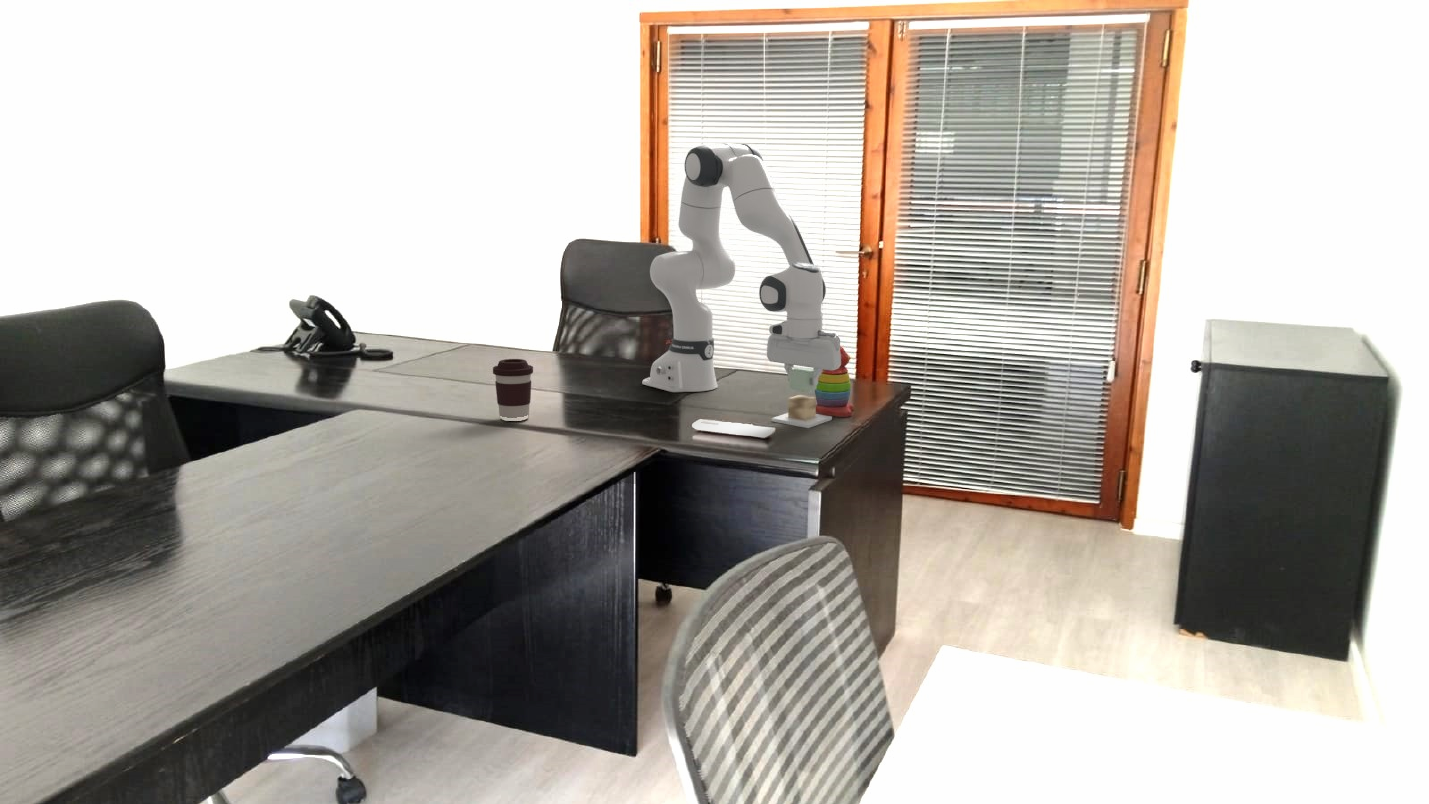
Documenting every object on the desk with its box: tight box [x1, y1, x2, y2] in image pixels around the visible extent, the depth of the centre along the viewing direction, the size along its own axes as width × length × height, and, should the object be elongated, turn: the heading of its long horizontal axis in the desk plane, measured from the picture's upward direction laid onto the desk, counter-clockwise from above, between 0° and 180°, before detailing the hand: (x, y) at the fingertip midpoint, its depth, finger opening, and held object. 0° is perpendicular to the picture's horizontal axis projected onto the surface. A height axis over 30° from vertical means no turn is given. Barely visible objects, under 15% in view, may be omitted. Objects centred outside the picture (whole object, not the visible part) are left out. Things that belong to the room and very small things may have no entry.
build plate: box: [771, 412, 833, 429], centre depth 280 cm, size 11×11×1 cm
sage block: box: [788, 366, 817, 394], centre depth 277 cm, size 5×5×5 cm
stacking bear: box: [814, 345, 855, 418], centre depth 287 cm, size 11×10×18 cm
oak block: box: [787, 394, 817, 420], centre depth 279 cm, size 5×5×5 cm
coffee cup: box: [492, 358, 534, 418], centre depth 278 cm, size 10×10×15 cm
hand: (802, 383), depth 278 cm, fingers closed on sage block, 5 cm apart
